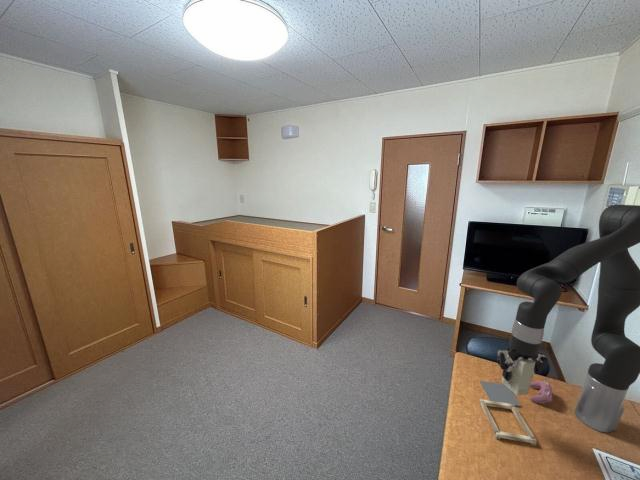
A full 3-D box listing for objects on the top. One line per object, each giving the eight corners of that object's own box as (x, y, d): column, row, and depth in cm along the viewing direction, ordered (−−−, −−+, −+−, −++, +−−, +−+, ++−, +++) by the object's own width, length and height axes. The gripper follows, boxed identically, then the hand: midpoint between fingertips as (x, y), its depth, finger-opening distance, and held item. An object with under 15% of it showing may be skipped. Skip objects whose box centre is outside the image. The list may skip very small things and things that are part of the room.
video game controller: (541, 410, 95) (557, 400, 92) (528, 399, 97) (543, 390, 94) (539, 392, 103) (554, 383, 100) (528, 383, 105) (541, 374, 101)
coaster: (506, 385, 104) (507, 384, 104) (520, 407, 95) (521, 405, 94) (480, 381, 106) (480, 380, 106) (491, 402, 96) (491, 401, 96)
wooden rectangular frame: (512, 408, 94) (513, 404, 93) (535, 445, 81) (537, 440, 81) (478, 403, 96) (479, 399, 95) (495, 438, 83) (497, 434, 83)
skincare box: (528, 394, 83) (537, 362, 80) (516, 396, 82) (524, 364, 79) (511, 379, 89) (519, 349, 86) (500, 381, 88) (507, 350, 85)
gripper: (544, 330, 83) (533, 374, 87) (495, 326, 85) (486, 369, 90) (561, 345, 76) (548, 392, 80) (507, 340, 78) (497, 386, 82)
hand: (515, 380), depth 85 cm, fingers closed on skincare box, 5 cm apart
